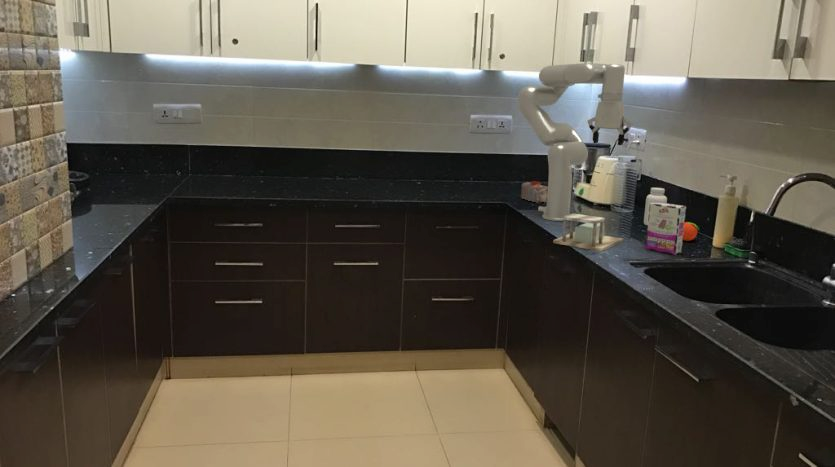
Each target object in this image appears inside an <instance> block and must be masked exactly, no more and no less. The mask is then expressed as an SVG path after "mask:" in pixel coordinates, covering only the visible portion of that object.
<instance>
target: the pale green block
mask: <svg viewBox="0 0 835 467" xmlns="http://www.w3.org/2000/svg"><path fill="white" fill-rule="evenodd" d="M574 227H575V228H574V232H575V239H574V241H577V242H583V243H592V236H593V224H591V223H583V224H580V225H578V226H574ZM599 232H600V223H598V224H597V231H596V240H598V239H599ZM604 233H605V223H604V226H603V237H604V236H605V234H604Z"/></svg>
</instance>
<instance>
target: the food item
mask: <svg viewBox="0 0 835 467" xmlns="http://www.w3.org/2000/svg"><path fill="white" fill-rule="evenodd" d="M541 184H542V183H541V182H540V181H538V180H537V181H536V180H533V181H530V182H529V181H527V182H524V183H523V182H522V184H521V192H520V199H521V198H522V199H525V200H524V201H526V200H528V201H532V202H531V203H533V202H536V203H535V204H541V203H540V202H544V203H543V204H546V203H547V195H548V186H547V185H541ZM522 199H521V200H522ZM528 201H527V202H528ZM545 202H546V203H545Z"/></svg>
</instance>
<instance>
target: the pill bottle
mask: <svg viewBox="0 0 835 467" xmlns="http://www.w3.org/2000/svg"><path fill="white" fill-rule="evenodd" d="M665 191H666V190H665V188H663V187H650V192H649V193H650V194H648V195H647V196H646V199H645V207H644V217H643V224H644V225H646V226H648V218H649V207H650V203H653V202H660V203H667V204H668V197H667V196H666V195H665Z"/></svg>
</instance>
